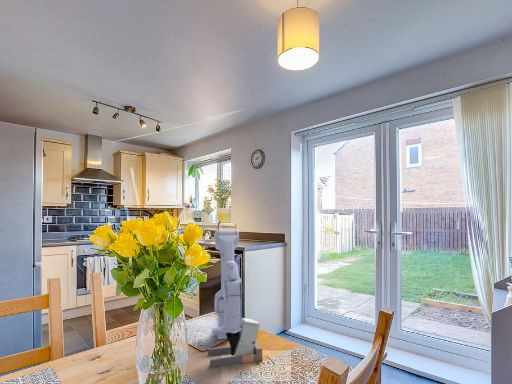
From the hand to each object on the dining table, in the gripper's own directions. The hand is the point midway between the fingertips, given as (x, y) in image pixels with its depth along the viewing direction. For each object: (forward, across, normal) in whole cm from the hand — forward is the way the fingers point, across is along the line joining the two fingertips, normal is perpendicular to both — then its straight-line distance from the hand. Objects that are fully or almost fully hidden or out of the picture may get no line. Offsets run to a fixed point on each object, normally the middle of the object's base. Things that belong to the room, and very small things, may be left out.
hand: (232, 354), depth 106 cm
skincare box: (+1, +3, 0) cm, 3 cm away
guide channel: (+1, +1, 0) cm, 2 cm away
